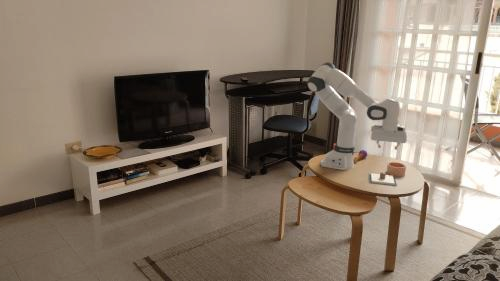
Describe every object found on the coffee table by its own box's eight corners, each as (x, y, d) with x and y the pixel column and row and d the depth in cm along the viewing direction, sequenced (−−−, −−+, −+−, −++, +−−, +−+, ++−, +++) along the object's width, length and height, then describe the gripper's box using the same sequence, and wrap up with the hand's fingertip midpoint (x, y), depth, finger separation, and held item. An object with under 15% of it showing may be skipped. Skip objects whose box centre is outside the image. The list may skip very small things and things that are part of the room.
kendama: (348, 157, 265) (360, 148, 280) (349, 165, 267) (361, 156, 281) (356, 157, 261) (368, 149, 276) (357, 166, 263) (369, 156, 277)
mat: (368, 183, 231) (368, 183, 231) (368, 174, 245) (368, 173, 245) (397, 187, 227) (397, 186, 227) (394, 177, 241) (394, 176, 241)
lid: (371, 182, 232) (372, 175, 230) (370, 175, 244) (371, 168, 242) (394, 185, 228) (395, 178, 227) (392, 177, 240) (393, 170, 239)
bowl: (387, 175, 244) (388, 166, 242) (386, 169, 254) (387, 161, 252) (405, 177, 241) (406, 168, 240) (403, 171, 251) (404, 163, 250)
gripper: (371, 126, 228) (369, 148, 232) (408, 128, 222) (405, 151, 226) (371, 123, 234) (369, 145, 238) (407, 126, 227) (405, 148, 231)
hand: (387, 148), depth 232 cm, fingers open, 8 cm apart
